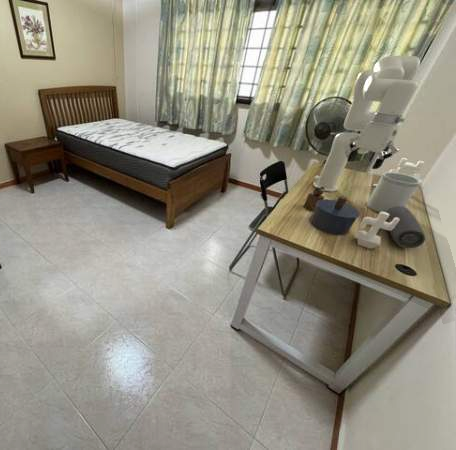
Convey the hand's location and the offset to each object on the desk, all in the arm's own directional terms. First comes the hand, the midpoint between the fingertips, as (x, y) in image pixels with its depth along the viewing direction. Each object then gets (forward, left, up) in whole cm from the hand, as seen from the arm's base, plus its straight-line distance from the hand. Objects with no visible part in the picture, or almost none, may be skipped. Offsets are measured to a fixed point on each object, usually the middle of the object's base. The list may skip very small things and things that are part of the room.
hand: (362, 164), depth 98 cm
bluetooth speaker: (+15, +18, -28) cm, 37 cm away
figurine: (+17, -1, -28) cm, 33 cm away
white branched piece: (-20, +66, -28) cm, 74 cm away
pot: (+2, -4, -28) cm, 28 cm away
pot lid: (+2, -4, -19) cm, 20 cm away
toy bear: (-13, 0, -28) cm, 30 cm away
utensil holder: (-5, +38, -28) cm, 47 cm away
